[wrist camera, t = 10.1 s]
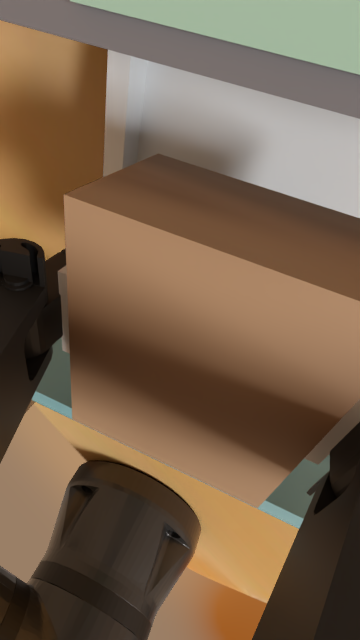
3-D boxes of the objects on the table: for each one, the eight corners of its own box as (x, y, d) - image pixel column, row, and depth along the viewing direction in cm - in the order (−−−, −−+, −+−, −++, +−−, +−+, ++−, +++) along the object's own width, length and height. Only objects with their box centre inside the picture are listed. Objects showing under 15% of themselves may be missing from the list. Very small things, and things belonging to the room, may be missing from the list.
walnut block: (276, 401, 12) (257, 508, 9) (131, 340, 13) (72, 418, 10) (390, 228, 8) (428, 326, 5) (158, 153, 9) (63, 194, 6)
